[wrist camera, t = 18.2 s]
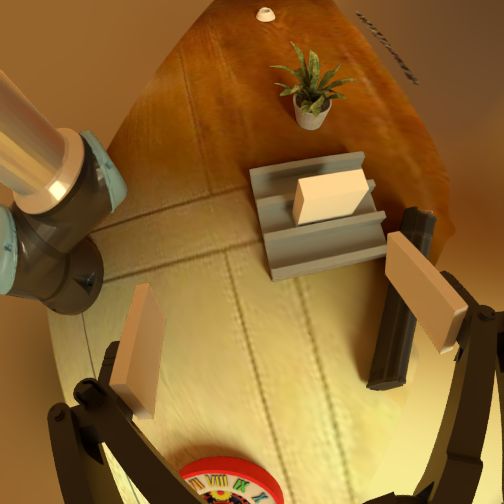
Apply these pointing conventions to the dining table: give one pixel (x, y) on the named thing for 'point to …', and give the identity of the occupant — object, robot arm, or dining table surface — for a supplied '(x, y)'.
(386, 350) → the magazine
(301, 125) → the house plant
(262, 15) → the upturned cream bowl
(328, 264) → the notched rack
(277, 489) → the toy clock
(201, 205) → the dining table surface
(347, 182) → the picture frame
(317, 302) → the dining table surface
